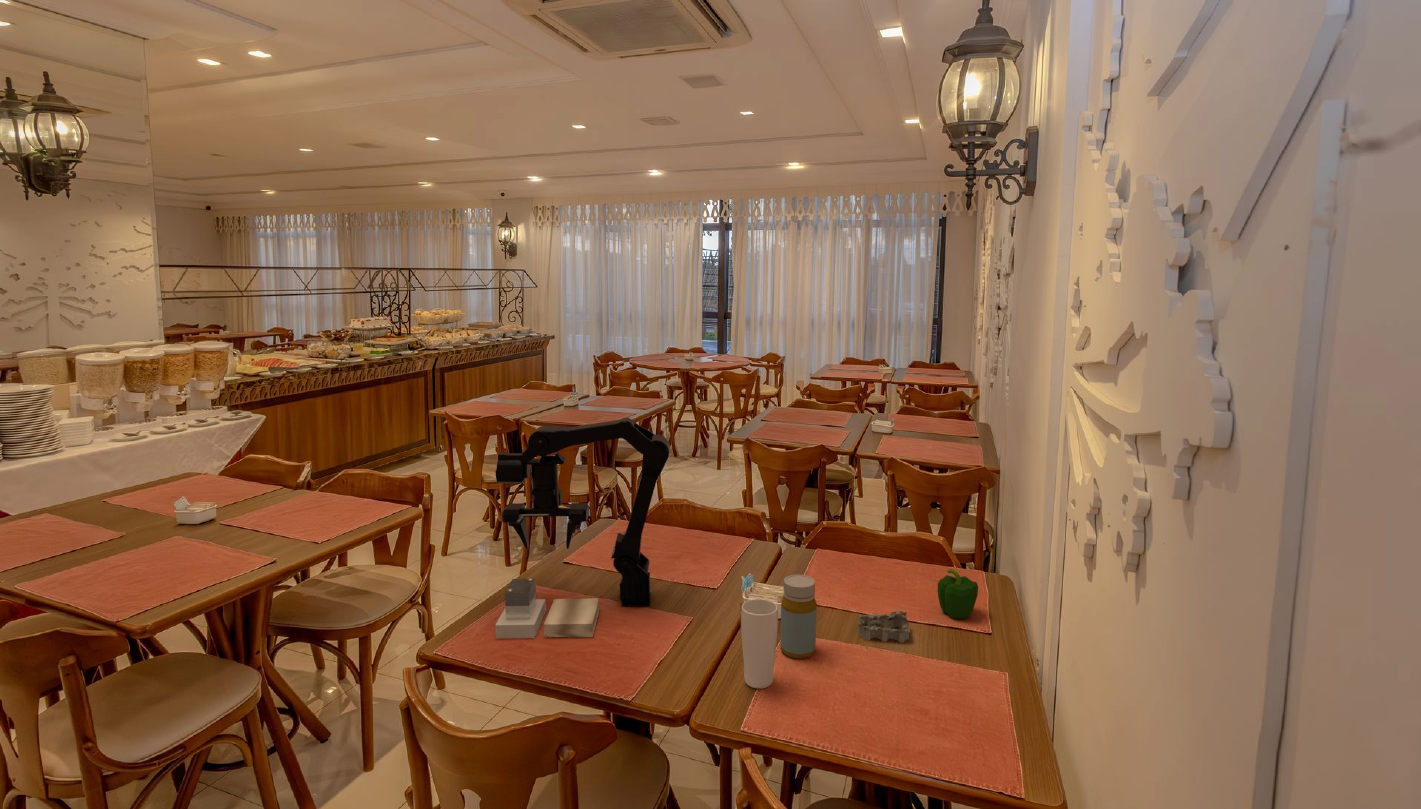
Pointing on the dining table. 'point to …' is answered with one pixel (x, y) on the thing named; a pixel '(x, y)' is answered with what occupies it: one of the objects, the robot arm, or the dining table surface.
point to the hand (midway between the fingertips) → (547, 548)
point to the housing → (520, 599)
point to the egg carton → (888, 622)
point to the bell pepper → (957, 595)
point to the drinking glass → (759, 641)
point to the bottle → (798, 617)
